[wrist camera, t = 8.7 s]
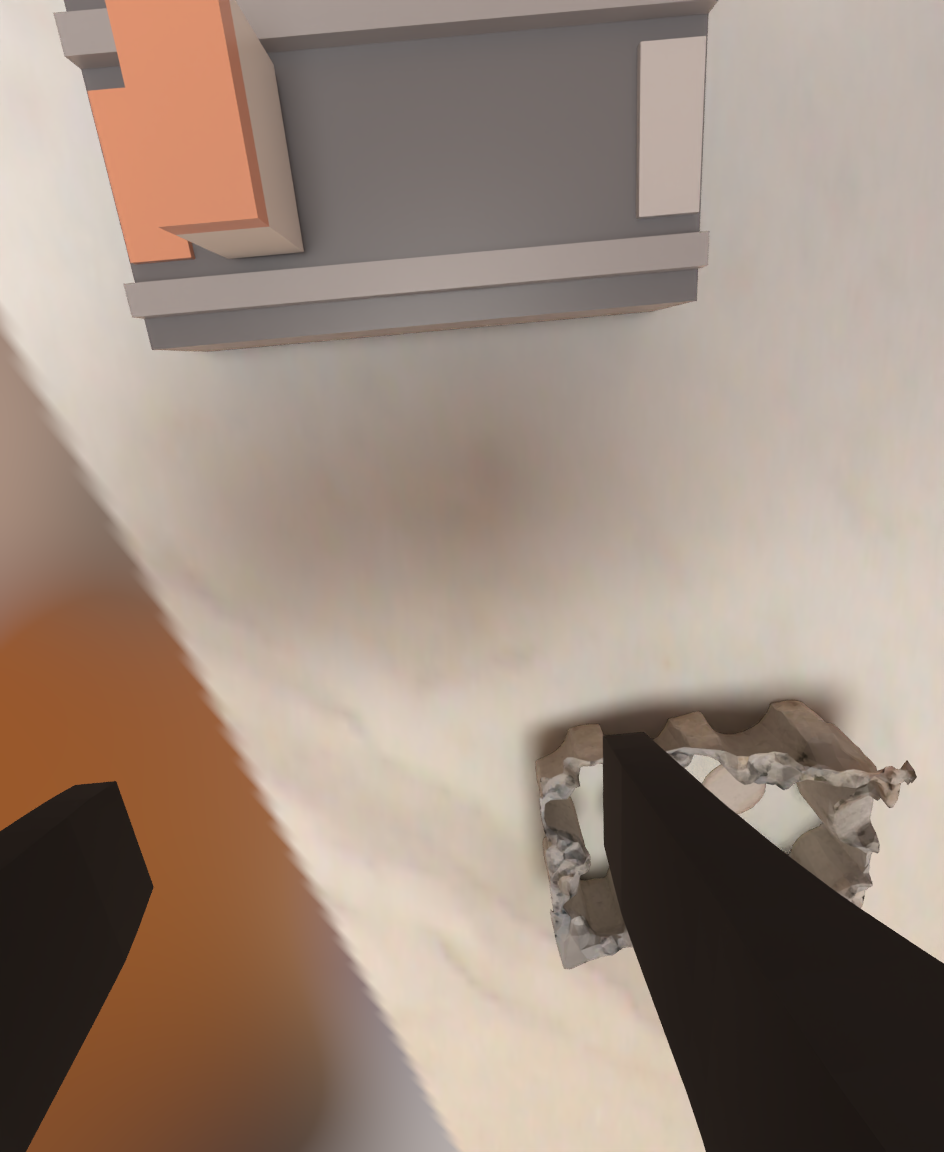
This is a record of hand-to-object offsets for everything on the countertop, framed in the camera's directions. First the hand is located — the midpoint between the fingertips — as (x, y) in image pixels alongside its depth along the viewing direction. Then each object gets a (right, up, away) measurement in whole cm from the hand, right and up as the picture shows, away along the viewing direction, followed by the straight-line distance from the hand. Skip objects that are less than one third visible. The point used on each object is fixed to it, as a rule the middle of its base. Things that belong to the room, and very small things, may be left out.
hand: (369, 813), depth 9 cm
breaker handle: (-3, +11, +2) cm, 12 cm away
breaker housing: (0, +13, +5) cm, 14 cm away
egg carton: (+9, -4, +12) cm, 16 cm away
